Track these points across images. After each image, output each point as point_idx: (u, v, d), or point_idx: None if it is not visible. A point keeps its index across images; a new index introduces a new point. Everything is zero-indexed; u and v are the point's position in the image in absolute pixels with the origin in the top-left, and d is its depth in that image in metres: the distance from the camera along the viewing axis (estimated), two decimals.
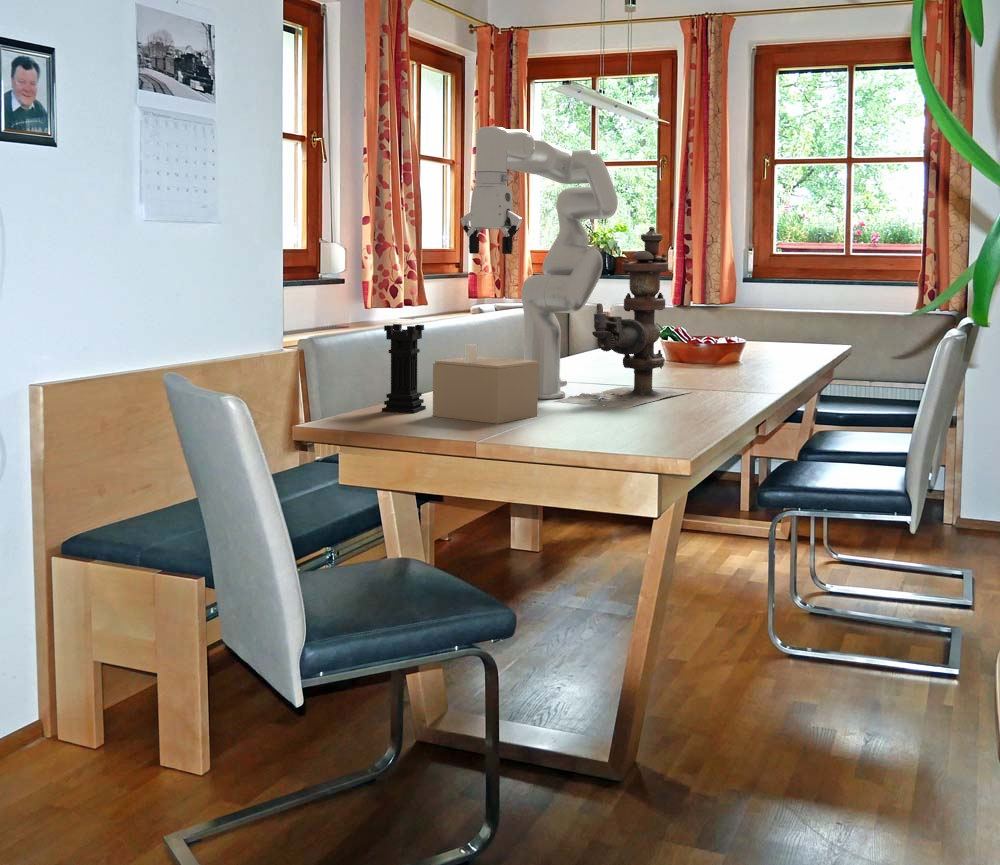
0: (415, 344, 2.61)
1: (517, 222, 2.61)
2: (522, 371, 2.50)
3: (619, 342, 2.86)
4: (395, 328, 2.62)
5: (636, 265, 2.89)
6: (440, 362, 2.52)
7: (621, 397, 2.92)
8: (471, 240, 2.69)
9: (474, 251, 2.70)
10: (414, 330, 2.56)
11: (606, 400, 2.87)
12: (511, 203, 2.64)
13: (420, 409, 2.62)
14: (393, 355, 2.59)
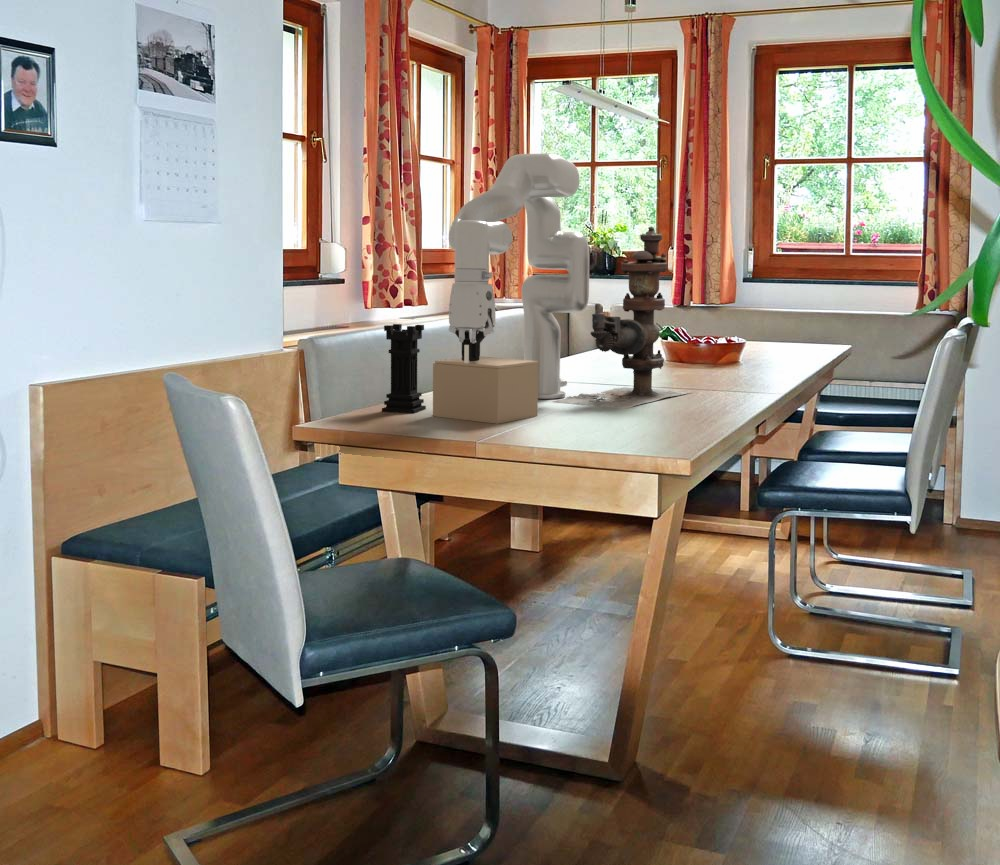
0: (415, 344, 2.61)
1: (486, 333, 2.45)
2: (522, 371, 2.50)
3: (618, 342, 2.85)
4: (395, 328, 2.62)
5: (635, 265, 2.88)
6: (440, 362, 2.52)
7: (620, 397, 2.92)
8: None
9: None
10: (414, 330, 2.56)
11: (605, 400, 2.86)
12: (493, 302, 2.45)
13: (420, 409, 2.62)
14: (393, 355, 2.59)
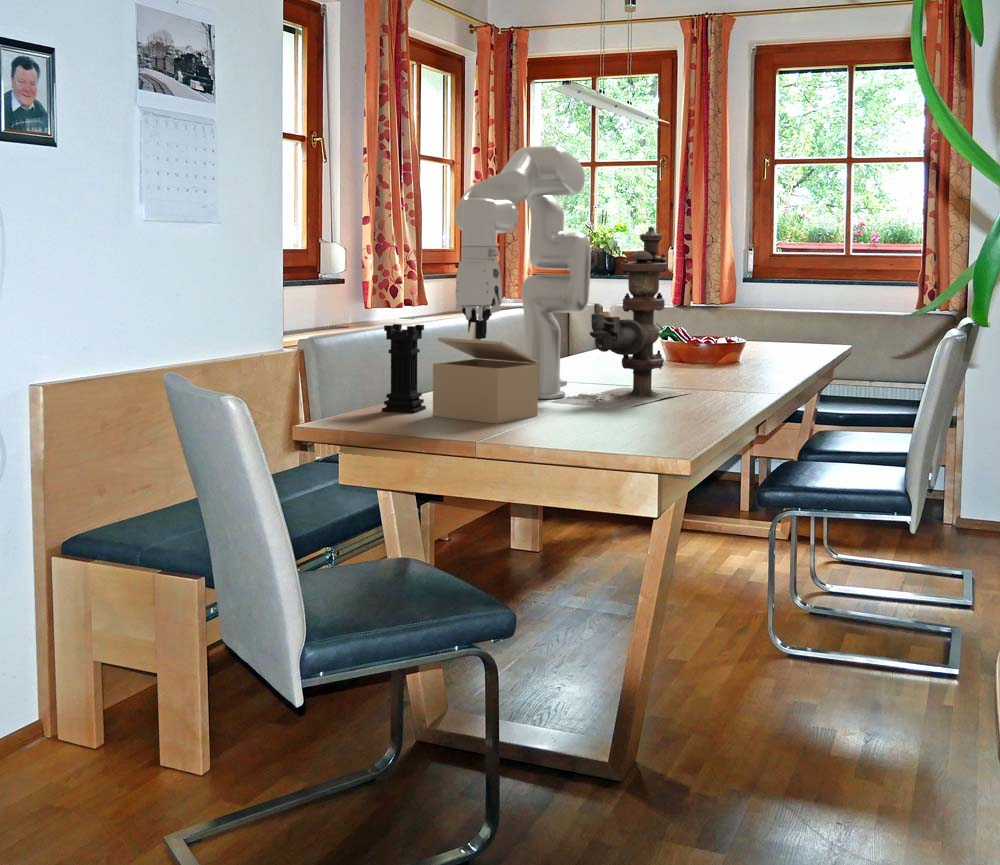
0: (415, 344, 2.61)
1: (493, 311, 2.46)
2: (522, 371, 2.50)
3: (617, 342, 2.84)
4: (395, 328, 2.62)
5: (635, 265, 2.88)
6: (443, 339, 2.51)
7: (619, 398, 2.91)
8: None
9: None
10: (414, 330, 2.56)
11: (604, 401, 2.86)
12: (499, 279, 2.46)
13: (420, 409, 2.62)
14: (393, 355, 2.59)
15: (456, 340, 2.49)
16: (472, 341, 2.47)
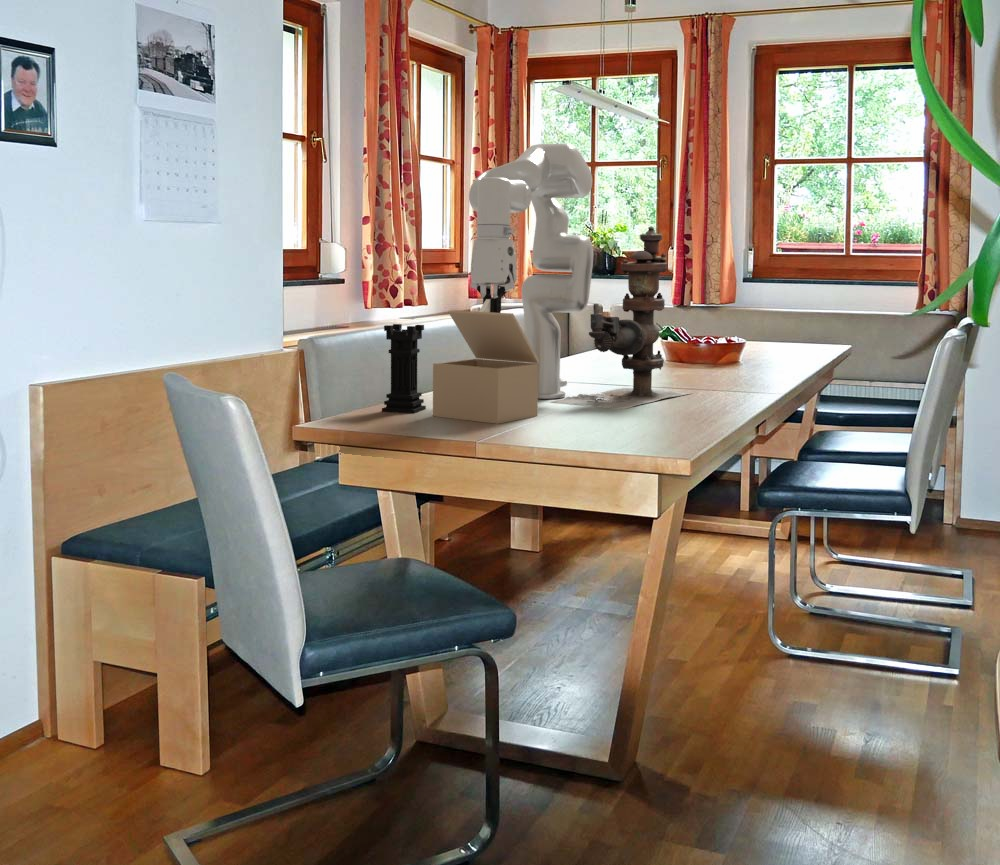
0: (415, 344, 2.61)
1: (508, 288, 2.49)
2: (522, 371, 2.50)
3: (616, 343, 2.84)
4: (395, 328, 2.62)
5: (634, 265, 2.87)
6: (454, 311, 2.54)
7: (619, 398, 2.90)
8: None
9: None
10: (414, 330, 2.56)
11: (603, 401, 2.85)
12: (514, 257, 2.50)
13: (420, 409, 2.62)
14: (393, 355, 2.59)
15: (467, 312, 2.52)
16: (483, 313, 2.49)
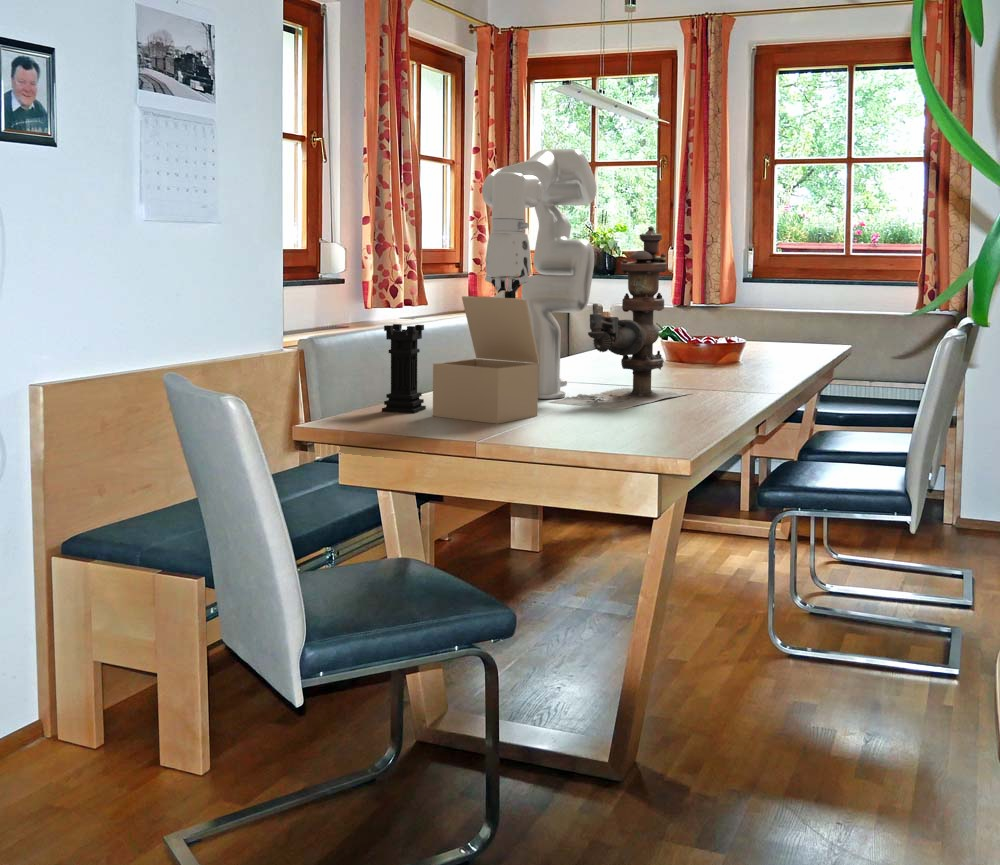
0: (415, 344, 2.61)
1: (522, 281, 2.54)
2: (522, 371, 2.50)
3: (616, 343, 2.83)
4: (395, 328, 2.62)
5: (634, 265, 2.87)
6: (467, 296, 2.57)
7: (618, 398, 2.90)
8: None
9: None
10: (414, 330, 2.56)
11: (602, 401, 2.85)
12: (528, 251, 2.54)
13: (420, 409, 2.62)
14: (393, 355, 2.59)
15: (480, 297, 2.55)
16: (496, 298, 2.53)
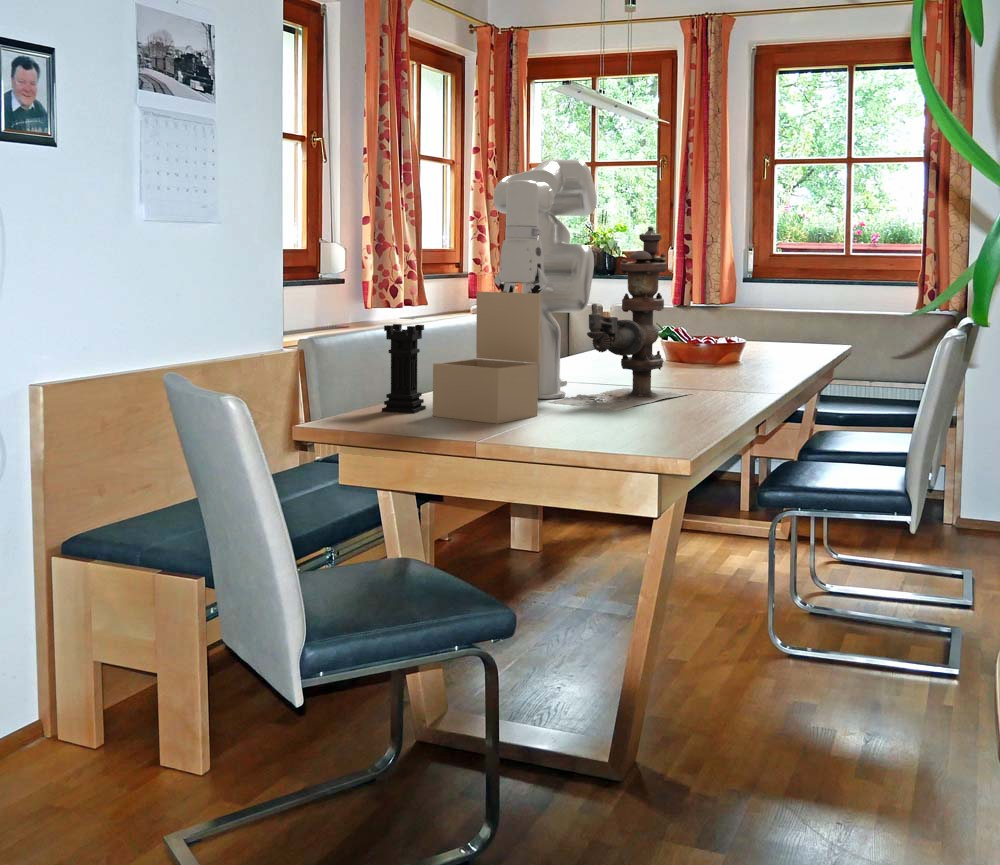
0: (415, 344, 2.61)
1: (542, 284, 2.58)
2: (522, 371, 2.50)
3: (615, 343, 2.83)
4: (395, 328, 2.62)
5: (633, 265, 2.86)
6: None
7: (618, 398, 2.89)
8: None
9: None
10: (414, 330, 2.56)
11: (602, 401, 2.84)
12: (542, 257, 2.59)
13: (420, 409, 2.62)
14: (393, 355, 2.59)
15: (495, 292, 2.60)
16: (511, 292, 2.57)
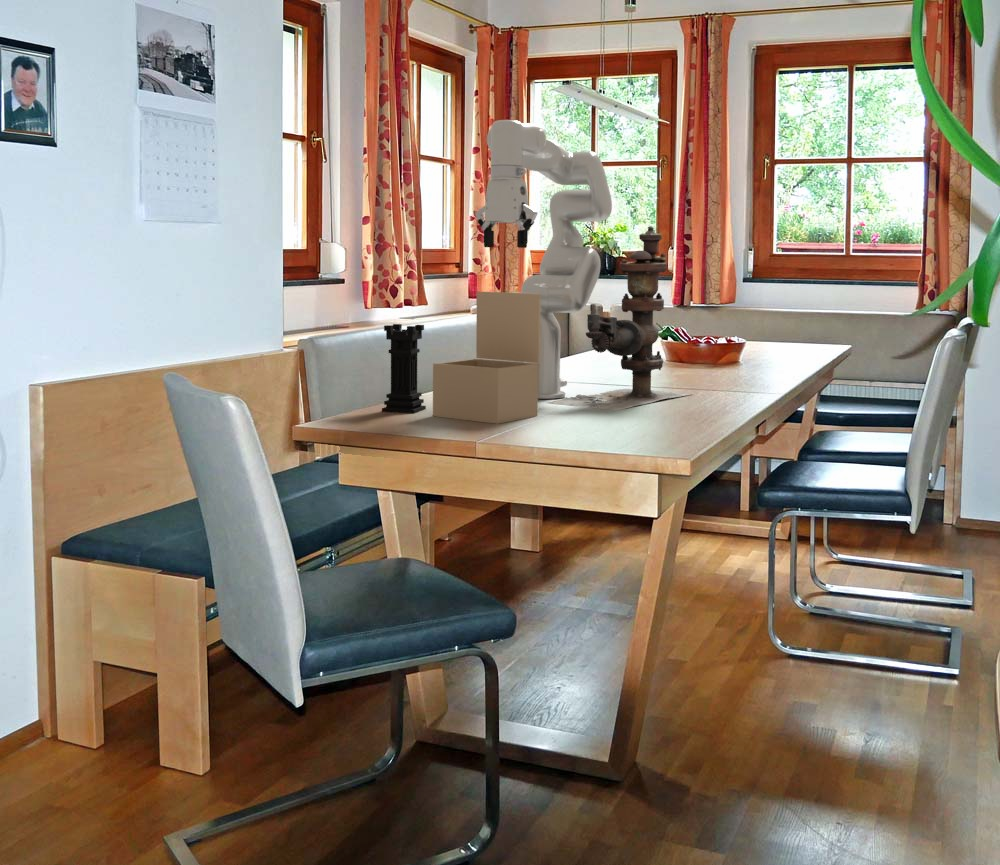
0: (415, 344, 2.61)
1: (532, 215, 2.61)
2: (522, 371, 2.50)
3: (614, 343, 2.82)
4: (395, 328, 2.62)
5: (633, 265, 2.85)
6: None
7: (617, 399, 2.89)
8: (486, 234, 2.68)
9: (489, 245, 2.69)
10: (414, 330, 2.56)
11: (601, 402, 2.83)
12: (526, 197, 2.64)
13: (420, 409, 2.62)
14: (393, 355, 2.59)
15: (495, 292, 2.60)
16: (511, 292, 2.57)
